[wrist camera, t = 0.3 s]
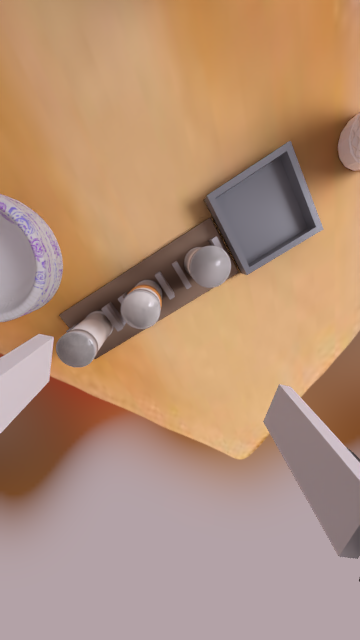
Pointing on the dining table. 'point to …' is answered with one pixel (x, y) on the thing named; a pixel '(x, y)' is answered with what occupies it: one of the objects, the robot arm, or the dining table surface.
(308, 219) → the tray
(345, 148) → the white cup
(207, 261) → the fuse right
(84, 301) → the clip rail
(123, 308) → the cylinder
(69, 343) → the cylinder
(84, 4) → the dining table surface
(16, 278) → the white purple floral bowl
